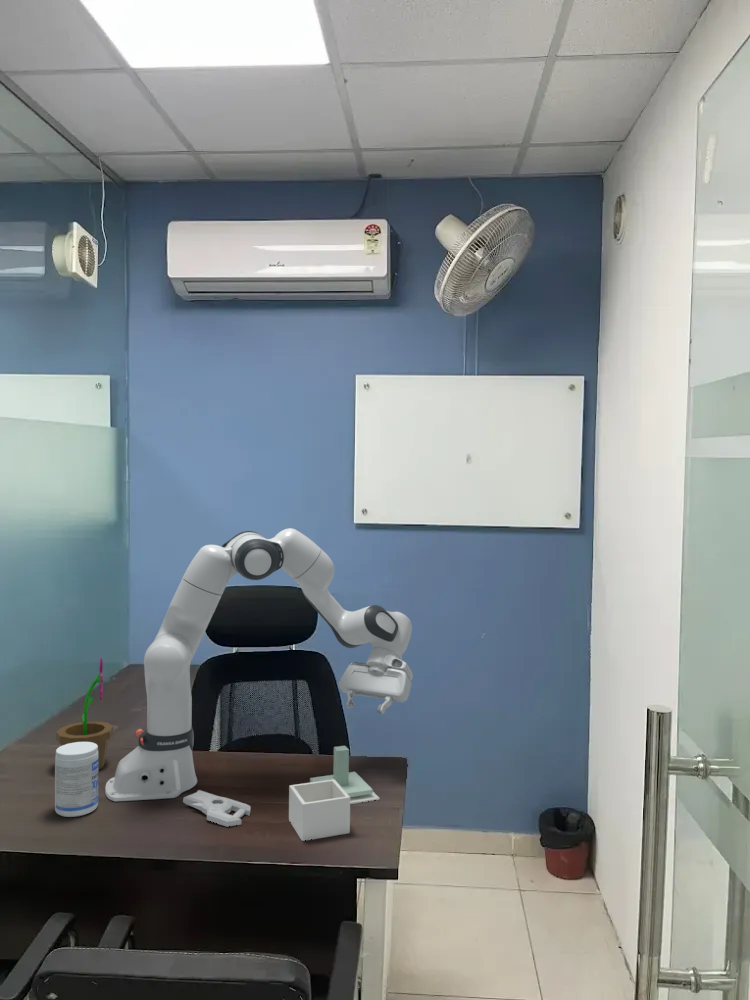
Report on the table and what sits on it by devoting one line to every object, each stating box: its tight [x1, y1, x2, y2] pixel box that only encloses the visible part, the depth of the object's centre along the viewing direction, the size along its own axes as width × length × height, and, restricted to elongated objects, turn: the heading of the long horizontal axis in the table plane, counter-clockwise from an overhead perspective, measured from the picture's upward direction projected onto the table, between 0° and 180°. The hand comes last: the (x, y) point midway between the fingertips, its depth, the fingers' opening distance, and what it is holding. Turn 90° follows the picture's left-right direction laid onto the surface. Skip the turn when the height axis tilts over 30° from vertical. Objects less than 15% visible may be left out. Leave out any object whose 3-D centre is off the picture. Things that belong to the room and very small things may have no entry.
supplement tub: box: [54, 742, 99, 818], centre depth 173 cm, size 10×10×15 cm
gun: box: [182, 789, 252, 828], centre depth 173 cm, size 18×3×10 cm
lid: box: [309, 745, 374, 797], centre depth 186 cm, size 12×12×11 cm
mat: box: [350, 791, 380, 805], centre depth 186 cm, size 15×15×1 cm
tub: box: [288, 779, 351, 842], centre depth 167 cm, size 11×11×8 cm
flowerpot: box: [55, 656, 114, 771], centre depth 200 cm, size 14×14×30 cm
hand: (364, 709), depth 195 cm, fingers open, 8 cm apart
